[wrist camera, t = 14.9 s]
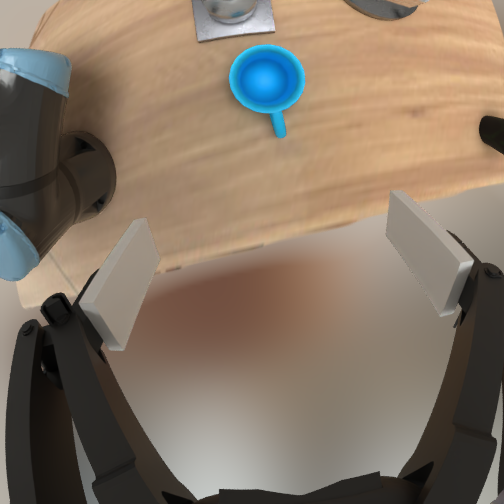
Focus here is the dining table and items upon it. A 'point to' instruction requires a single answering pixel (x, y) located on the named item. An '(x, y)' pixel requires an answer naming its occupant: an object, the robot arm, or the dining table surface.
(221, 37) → the stand
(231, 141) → the dining table surface
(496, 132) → the cup
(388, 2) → the hub
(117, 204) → the dining table surface
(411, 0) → the faceted steel ring
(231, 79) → the mug
